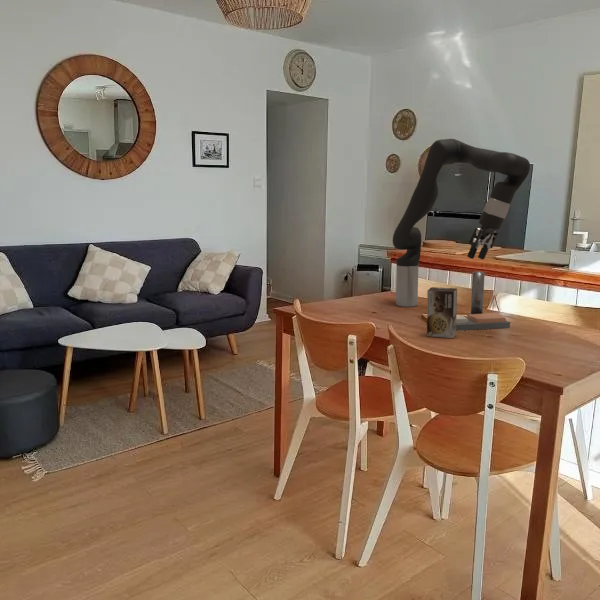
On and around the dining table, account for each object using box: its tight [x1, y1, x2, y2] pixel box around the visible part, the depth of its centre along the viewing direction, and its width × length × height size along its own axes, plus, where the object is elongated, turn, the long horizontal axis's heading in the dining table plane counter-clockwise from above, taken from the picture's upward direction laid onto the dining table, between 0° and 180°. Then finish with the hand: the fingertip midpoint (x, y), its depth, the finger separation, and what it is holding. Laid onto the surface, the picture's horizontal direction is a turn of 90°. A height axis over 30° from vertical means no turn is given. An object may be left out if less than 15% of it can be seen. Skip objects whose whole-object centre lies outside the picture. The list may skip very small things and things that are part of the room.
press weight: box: [466, 271, 486, 317], centre depth 221 cm, size 7×7×18 cm
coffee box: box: [426, 286, 458, 339], centre depth 197 cm, size 9×6×16 cm
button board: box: [456, 317, 511, 332], centre depth 211 cm, size 10×22×2 cm, turn 99°
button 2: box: [467, 312, 507, 324], centre depth 211 cm, size 8×11×2 cm
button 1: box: [456, 315, 468, 324], centre depth 209 cm, size 5×5×2 cm
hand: (475, 258), depth 200 cm, fingers open, 8 cm apart
